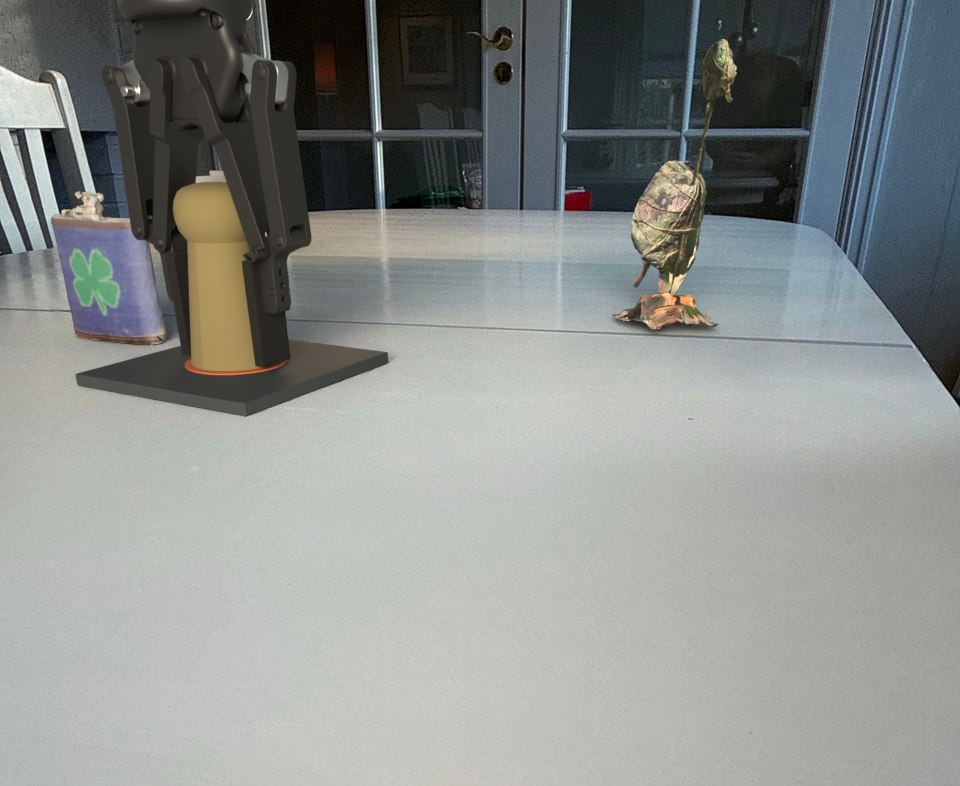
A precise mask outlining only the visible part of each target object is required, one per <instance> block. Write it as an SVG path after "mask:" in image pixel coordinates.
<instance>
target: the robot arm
mask: <svg viewBox="0 0 960 786" xmlns="http://www.w3.org/2000/svg"><path fill="white" fill-rule="evenodd" d="M116 5H117V8H118V11H119V12H120V13H121V15H122V16H123V17H124V18H126V19H128V20H129V21H130V23H131V24H132V26H133V31H134V43H133V49H132V59H131V60H130V61H128V62H126V63H125V64H122V65H121V66H120V65H119V66H116V65H112V66H111V65H106V66H104V67H103V69H102V72H101V78H102V81H103V84H104V87H105V90H106V93H107V96H108V98H109V101H110V104H111V107H112V109H113V113H114V119H115V128H116V135H117V141H118V148H119V155H120V162H121V168H122V175H123V182H124V189H125V196H126V197H125V198H126V204H127V209H128V218H130V224H131V230H132V234H133V236H134V237H135V238H136V239H137V240H146V241H147V242H149V244H150V245H152V246H153V248H154V249H155V251H156V252H158V253H159V257H160V261H161V267H162V272H163V278H164V284H165V288H166V289H165V290H166V294H167V297H168V299H169V300H170V302H171V303H173V309H174V314H175V315H174V316H175V319H176V320H175V321H176V326H177V332H178V338H179V344H180V346H181V350H182V355H185V356H191V337H190V308H189V278H188V249H187V240H186V239H185V238H184V237H183V235H182V234H181V233H180V232H179V230H178V227H177V225H176V222H175V219H174V214H173V201H174V198H175V195H176V193H177V191H178V190H180V189H181V188H182V187H185V186H188V185H191V184H195V183H196V176H197V168H198V151H199V150H198V149H199V144H200V143H201V141H203V139H204V138H205V140H206V141H207V142H208V143H210V144H211V145H212V146H213V147H214V149H215V152H216V155H217V158H218V160H219V164H220V168H221V171H223V173H224V176H225V179H226V182H227V185H228V188H229V190H230V193H231V196H232V199H233V202H234V205H235V208H236V211H237V214H238V217H239V220H240V223H241V226H242V228H243V231H244V234H245V237H246V240H247V243H248V246H249V249H250V252H248V253H246V254H243V256H244V258H245V260H246V261H242V269H243V276H244V284H245V291H246V299H247V306H248V314H249V322H250V329H251V337H252V344H253V352H254V359H255V366H257V367H267V366H270V365H274V364H277V363H280V362H283V361H286V360H289V359H291V357H290V348H289V339H290V338H289V333H288V325H287V323H288V322H287V315H286V312H289V311H291V308H292V307H291V306H292V294H291V287H290V277H289V268H288V267H289V266H288V259H289V257H290V254H291V253H293V252H295V251H297V250H299V249H300V250H301V249H302V248H307V247H309V246H310V245H311V243H312V229H311V223H310V216H309V215H310V214H309V209H308V202H307V201H308V200H307V196H306V195H307V194H306V188H305V181H304V173H303V166H302V160H301V153H300V152H301V151H300V146H299V145H300V144H299V139H298V131H297V125H296V124H297V123H296V116H295V109H294V108H295V98H296V88H297V77H298V74H297V69H296V67H295V65H294V64H293V63H292V62H291V61H285V60H284V61H283V60H271V59H268V58H266V57H263V56H261V55H258V54H257V53H256V51H255V48H254V45H253V43H252V41H251V39H250V36H249V33H248V30H247V21H248V20H249V19H250V18H251V16H252V14H253V1H252V0H116ZM248 95H250V97H248ZM249 99H250V100H249ZM149 216H150V217H151V218H150V219H149V218H148V217H149Z"/></svg>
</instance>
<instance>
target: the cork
mask: <svg viewBox="0 0 960 786" xmlns="http://www.w3.org/2000/svg"><path fill="white" fill-rule="evenodd" d="M173 214H174V219H175V222H176V225H177V227H178V230H179V232H180V233H181V234H182V235H183V237H184V238H185V239H186V240H187V249H188V278H189V308H190V337H191V365H193V366H194V367H195V368H199V369H202V370H210V371H244V370H251V369H258V368H262V367H257V366H255V359H254V352H253V344H252V337H251V329H250V322H249V314H248V306H247V299H246V291H245V284H244V276H243V269H242V261H246V260H245V258H244V256H243V254H246V253H248V252H250V249H249V246H248V243H247V240H246V237H245V234H244V231H243V228H242V226H241V223H240V220H239V217H238V214H237V211H236V208H235V205H234V202H233V199H232V196H231V193H230V190H229V188H228V185H227V182H199V183H195V184H191V185H188V186H185V187H182V188H181V189H180V190H178V191H177V193H176V195H175V198H174V201H173Z"/></svg>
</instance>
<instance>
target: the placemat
mask: <svg viewBox="0 0 960 786" xmlns="http://www.w3.org/2000/svg"><path fill="white" fill-rule="evenodd" d="M288 339H289V348H290V357H291V359H289V360H286V361H283V362H280V363H277V364H274V365H270V366H267V367H262V368H258V369H251V370H244V371H210V370H202V369H199V368H195V367H194V366H193V365H191V356H185V355H182V350H181V345H178V346H174V347H170V348H167V349H163V350H159V351H156V352H152V353H148V354H145V355H141V356H137V357H134V358H130V359H126V360H122V361H118V362H115V363H111V364H107V365H104V366H100V367H96V368H92V369H88V370H85V371H81V372H77V373H75V375H74V376H75V380H76V384H77V386H78V387H79V386H80V387H84V388H91V389H96V390H101V391H106V392H112V393H118V394H122V395H128V396H132V397H133V396H134V397H137V398H138V397H139V398H144V399H150V400H154V401H155V400H156V401H160V402H167V403H171V404H177V405H181V406H188V407H194V408H197V409H198V408H199V409H205V410H210V411H214V412H215V411H216V412H221V413H226V414H232V415H237V416H243V417H247V416H251V415H253V414H256V413H259V412H261V411H263V410H267V409H269V408H272V407H274V406H277V405H280V404H282V403H285V402H287V401H291V400H293V399H296V398H299V397H301V396H304V395H307V394H308V393H312V392H314V391H317V390H320V389H323V388H325V387H327V386H331V385H333V384H336V383H338V382H341V381H343V380H347V379H349V378H352V377H354V376H357V375H360V374H362V373H366V372H368V371H370V370H373V369H376V368H378V367H381V366H384V365H386V364H387V365H388V364H389V353H388V351H382V350H374V349H367V348H359V347H351V346H343V345H336V344H328V343H320V342H315V341H313V342H312V341H305V340H298V339H290V338H288Z"/></svg>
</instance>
